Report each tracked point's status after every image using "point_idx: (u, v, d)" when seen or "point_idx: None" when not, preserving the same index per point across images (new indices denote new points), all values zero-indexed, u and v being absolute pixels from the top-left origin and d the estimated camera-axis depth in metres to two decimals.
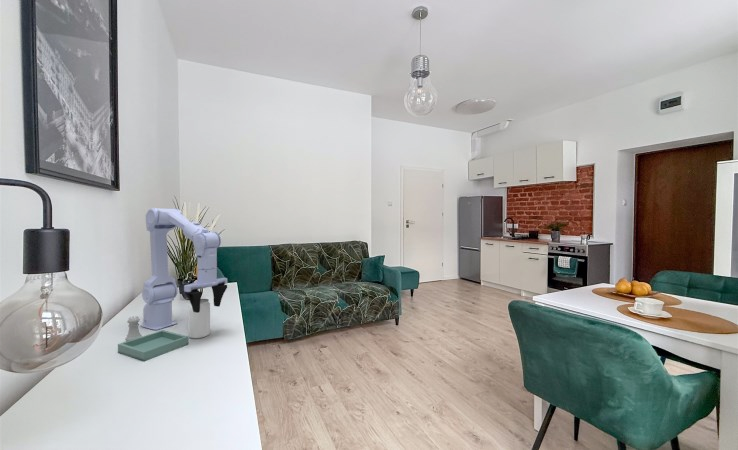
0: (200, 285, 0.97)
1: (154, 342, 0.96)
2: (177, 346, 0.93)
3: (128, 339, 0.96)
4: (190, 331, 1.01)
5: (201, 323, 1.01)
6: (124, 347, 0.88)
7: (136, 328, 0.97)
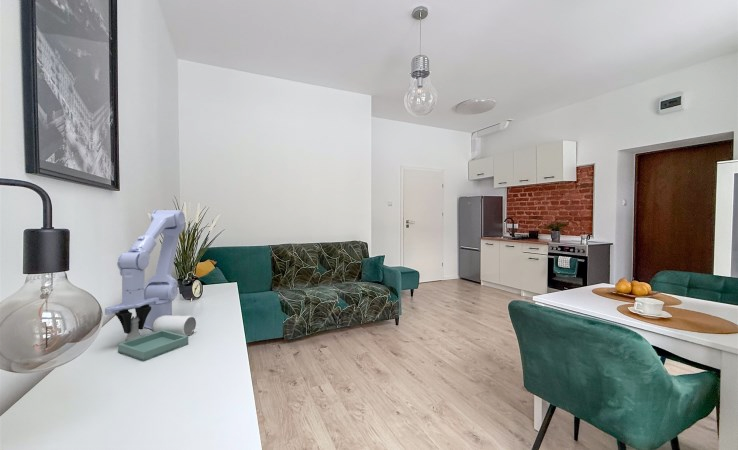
0: (123, 307, 0.93)
1: (154, 342, 0.96)
2: (177, 346, 0.93)
3: (128, 339, 0.96)
4: (177, 332, 1.01)
5: (171, 321, 1.02)
6: (124, 347, 0.88)
7: (136, 328, 0.97)
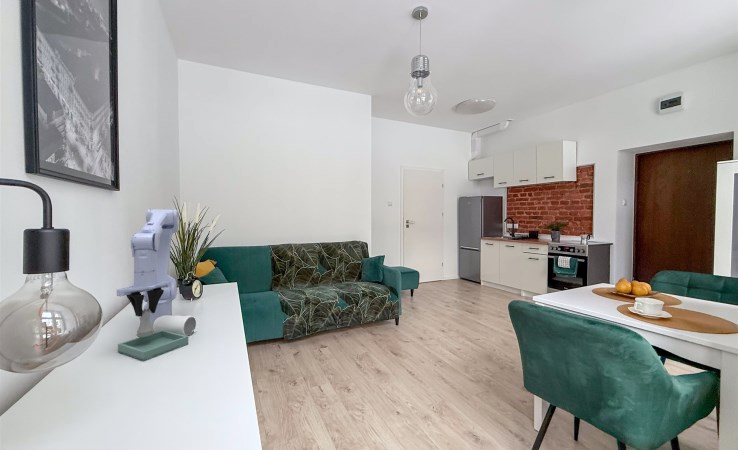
0: (135, 289, 0.90)
1: (154, 342, 0.96)
2: (177, 346, 0.93)
3: (139, 332, 0.93)
4: (177, 332, 1.01)
5: (171, 321, 1.02)
6: (124, 347, 0.88)
7: (147, 321, 0.95)
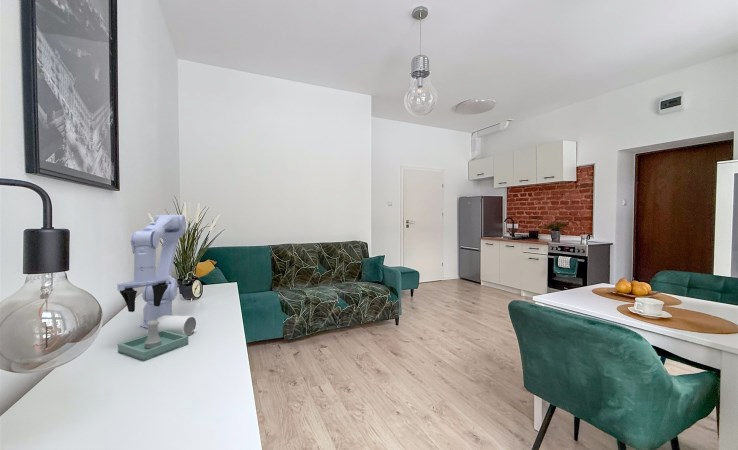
0: (135, 284, 0.95)
1: None
2: (177, 346, 0.93)
3: (147, 343, 0.91)
4: (177, 332, 1.01)
5: (171, 321, 1.02)
6: (124, 347, 0.88)
7: (155, 332, 0.93)
